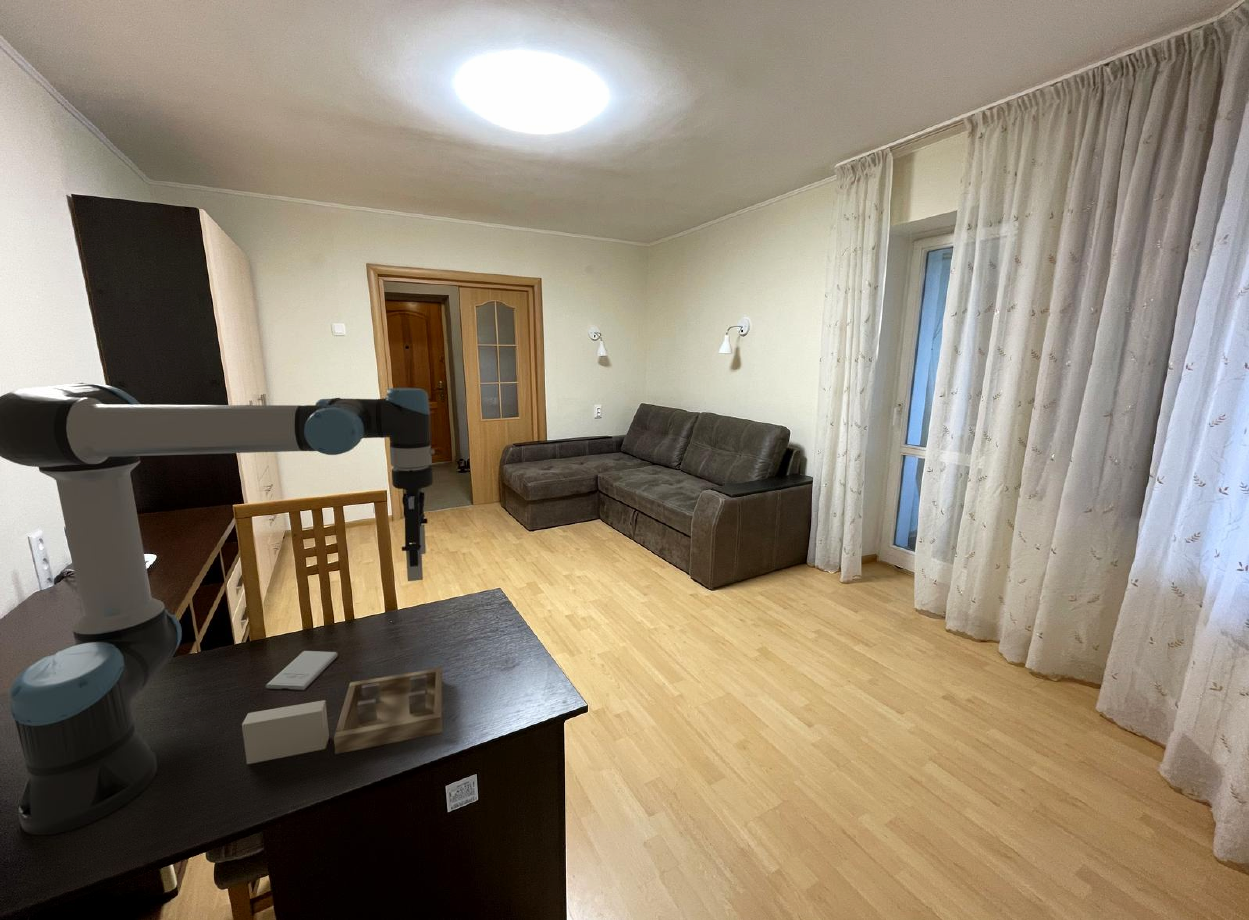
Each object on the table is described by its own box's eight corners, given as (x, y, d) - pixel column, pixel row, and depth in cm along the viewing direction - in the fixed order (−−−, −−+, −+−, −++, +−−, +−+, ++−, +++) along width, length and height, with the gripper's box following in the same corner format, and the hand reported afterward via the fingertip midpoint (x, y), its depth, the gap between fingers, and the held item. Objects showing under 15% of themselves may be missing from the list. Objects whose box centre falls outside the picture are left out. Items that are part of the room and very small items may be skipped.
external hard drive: (337, 658, 118) (304, 692, 106) (303, 656, 119) (266, 690, 106) (337, 652, 118) (303, 685, 106) (303, 650, 118) (265, 683, 106)
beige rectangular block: (247, 764, 87) (241, 724, 85) (253, 751, 90) (248, 713, 88) (325, 749, 91) (321, 710, 89) (329, 737, 94) (325, 699, 92)
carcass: (335, 754, 90) (333, 730, 89) (351, 697, 104) (349, 676, 103) (441, 732, 95) (440, 709, 94) (442, 681, 110) (441, 661, 109)
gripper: (430, 480, 89) (435, 590, 93) (433, 454, 112) (437, 543, 116) (383, 482, 86) (391, 595, 90) (397, 455, 109) (402, 545, 113)
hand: (417, 566), depth 103 cm, fingers open, 13 cm apart
